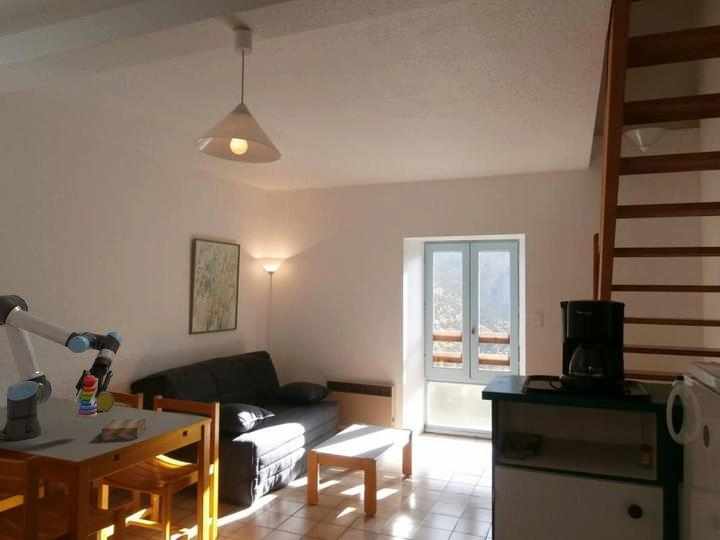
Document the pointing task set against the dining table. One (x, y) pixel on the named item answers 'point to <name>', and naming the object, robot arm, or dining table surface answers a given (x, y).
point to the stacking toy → (88, 399)
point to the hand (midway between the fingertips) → (83, 403)
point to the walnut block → (123, 429)
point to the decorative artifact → (104, 401)
